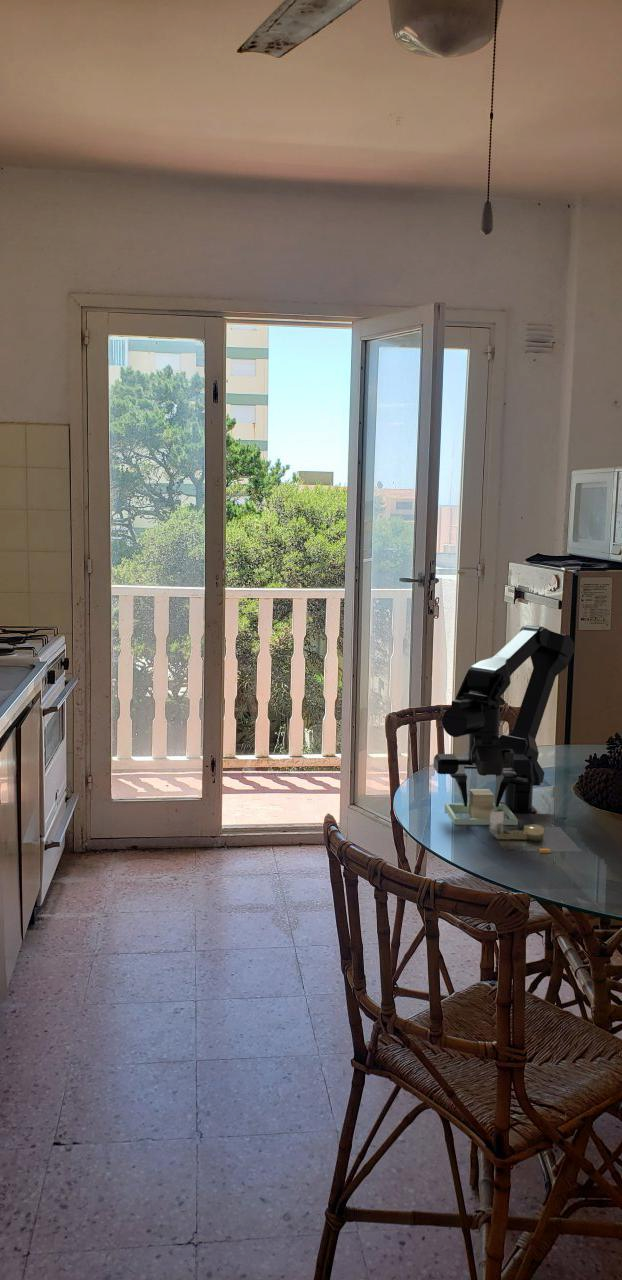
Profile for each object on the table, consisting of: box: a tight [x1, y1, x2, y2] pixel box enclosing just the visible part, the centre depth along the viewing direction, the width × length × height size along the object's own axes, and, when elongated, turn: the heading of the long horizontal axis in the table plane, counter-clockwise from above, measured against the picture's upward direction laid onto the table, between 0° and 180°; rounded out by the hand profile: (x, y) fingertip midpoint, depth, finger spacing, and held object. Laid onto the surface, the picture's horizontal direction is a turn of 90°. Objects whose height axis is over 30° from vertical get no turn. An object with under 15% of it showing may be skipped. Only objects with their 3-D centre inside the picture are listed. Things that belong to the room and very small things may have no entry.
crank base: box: [487, 826, 583, 854], centre depth 183 cm, size 15×14×2 cm
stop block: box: [468, 788, 495, 818], centre depth 196 cm, size 4×4×6 cm
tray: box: [444, 803, 519, 826], centre depth 196 cm, size 10×12×2 cm
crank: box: [489, 809, 545, 841], centre depth 183 cm, size 10×4×5 cm, turn 92°
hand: (480, 806), depth 196 cm, fingers open, 6 cm apart
